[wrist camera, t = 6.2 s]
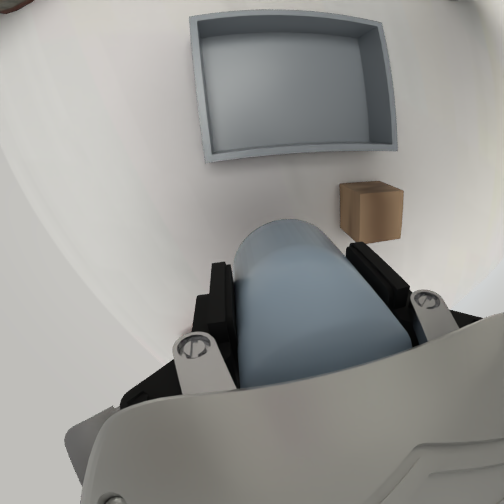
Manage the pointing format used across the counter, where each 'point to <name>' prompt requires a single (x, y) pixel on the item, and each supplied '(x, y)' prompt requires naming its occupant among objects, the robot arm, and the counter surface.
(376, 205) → the walnut cube
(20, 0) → the barrel
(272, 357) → the blue cylinder
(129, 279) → the counter surface
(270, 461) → the robot arm
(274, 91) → the tote
